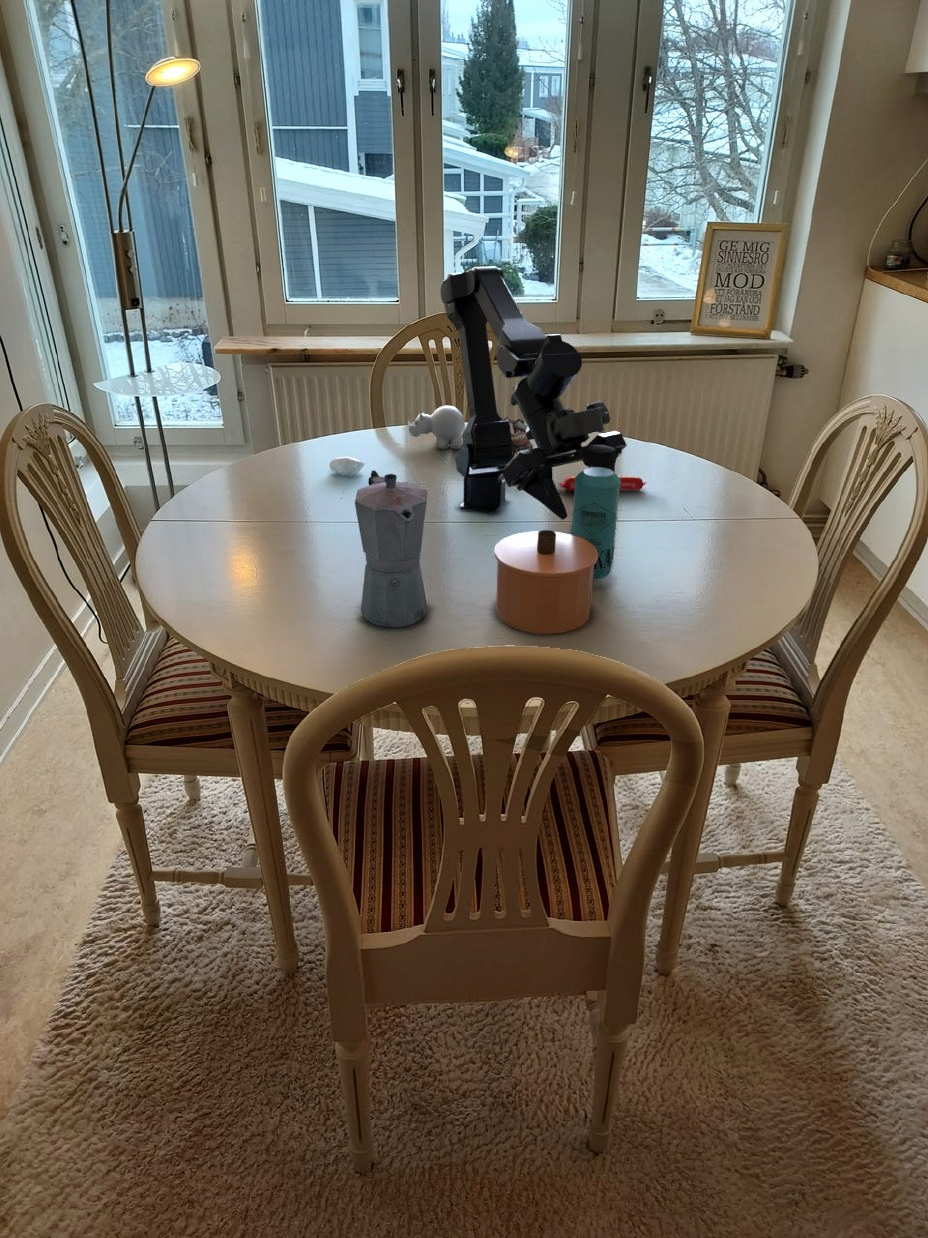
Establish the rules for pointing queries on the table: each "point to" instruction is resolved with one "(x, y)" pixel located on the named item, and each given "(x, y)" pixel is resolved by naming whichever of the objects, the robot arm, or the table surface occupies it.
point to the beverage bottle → (597, 506)
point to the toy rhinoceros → (440, 426)
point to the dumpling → (346, 465)
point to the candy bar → (626, 484)
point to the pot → (543, 600)
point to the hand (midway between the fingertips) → (590, 511)
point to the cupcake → (519, 435)
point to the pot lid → (546, 553)
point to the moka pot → (392, 550)
